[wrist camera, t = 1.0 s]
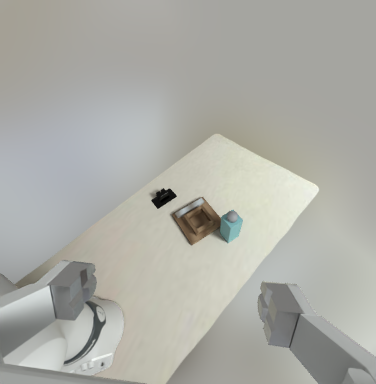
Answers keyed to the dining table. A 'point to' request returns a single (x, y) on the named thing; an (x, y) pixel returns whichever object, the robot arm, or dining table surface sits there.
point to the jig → (197, 220)
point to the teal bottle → (230, 225)
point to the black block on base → (163, 197)
